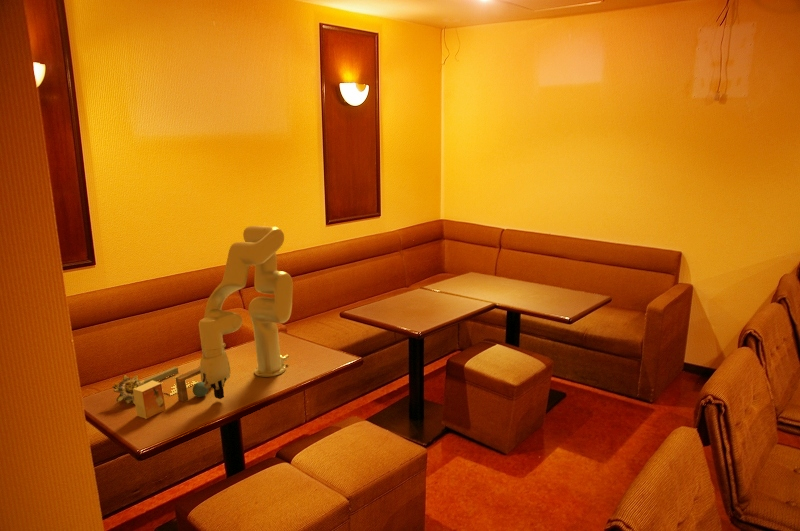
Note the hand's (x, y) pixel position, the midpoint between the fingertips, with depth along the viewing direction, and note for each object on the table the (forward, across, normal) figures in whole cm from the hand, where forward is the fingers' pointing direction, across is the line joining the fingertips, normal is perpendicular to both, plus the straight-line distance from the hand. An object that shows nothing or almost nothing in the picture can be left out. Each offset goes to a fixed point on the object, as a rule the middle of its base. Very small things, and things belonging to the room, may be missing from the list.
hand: (219, 397), depth 206 cm
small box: (+2, +18, -15) cm, 23 cm away
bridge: (+2, 0, -13) cm, 13 cm away
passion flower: (+2, +16, -31) cm, 35 cm away
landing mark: (+2, 0, -27) cm, 27 cm away
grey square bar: (+2, 0, -37) cm, 37 cm away
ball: (-1, +1, -10) cm, 10 cm away
